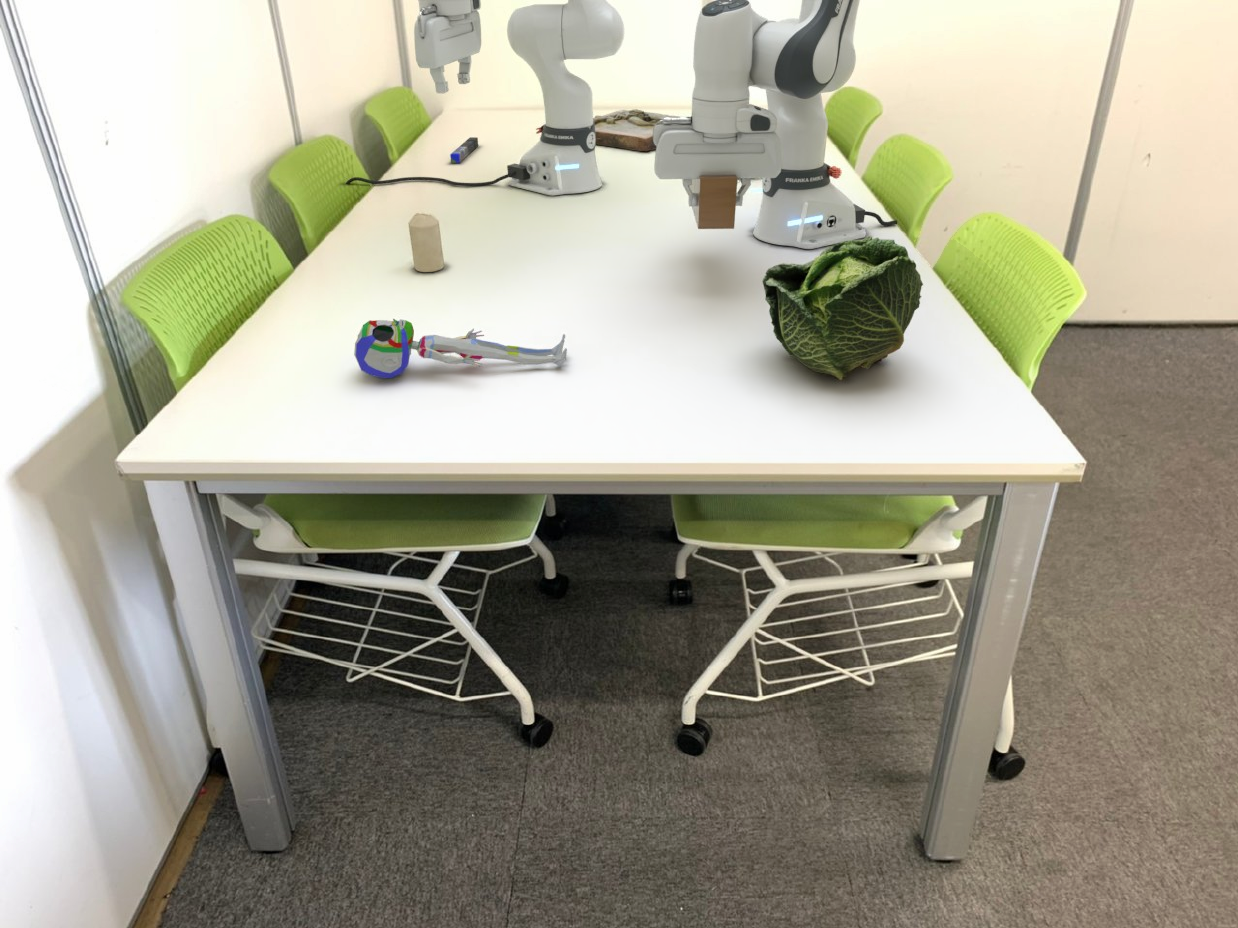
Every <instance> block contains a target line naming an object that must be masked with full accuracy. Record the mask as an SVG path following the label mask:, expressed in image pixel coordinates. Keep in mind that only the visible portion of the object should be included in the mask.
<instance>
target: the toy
mask: <svg viewBox="0 0 1238 928" xmlns="http://www.w3.org/2000/svg"><path fill="white" fill-rule="evenodd" d="M474 331H475V328H472V329H471V330H469V331H468V332H467V333H466V334H465V335H463V336H458V337H449V336H448V337H447V336H442V335H439V334H428V335H423V336H421V338H420V339H419V341H417V340H414V336H415V329H414V326H413V324H412V322H410V321H408V320H407V319H399V320H397V319H395V318H392V320H387V319H379V320H368V321H367V322H365V323H364V324H362V326H361V329H360V331H359V333H358V334H357V338H356V340H355V342H354V354H353V355H354V357H355V359H356V362H357V364H358V366H359V369H360V370H361V372H364V373H366V374H367V375H370V376H373V377H377V378H382V379H383V378H384V379H392V378H394V377H396V376H398V375H400V374H401V375H402V374H403V372H404V371H405V370H406V368H407V367H408V366H409V364H410V357H411V355H412V350H415V351H417V353H418V356H419V357H421V358H422V359H430V360H434V361H438V362H442V363H444V364H449V365H458V364H459V365H461V364H465V365H471V366H477V367H479V368H480V367H481V366H482V365H483V363H482V362H478V361H480V360H482V359H487V360H488V359H489V360H503V361H509V362H514V363H517V364H520V365H528V366H529V365H542V364H550V363H553V364H555V365H557V366H559V367H562V366H563V364H564V362H565V361H566V360H567V357H568V355H567V353H568V348H566V347H565V348H564V345H565V340H566V334H565V333H563V334H562V338H561V340H560V341H559V343H558V344H556V345H555V346H554V347H552V348H533V347H532V348H531V347H523V346H518V345H517V346H516V345H504V344H501V343H498V342H494V341H488V340H482V339H478V338H479V337H480V338H481V337H485V334H480V333H482V332H483V331H482V330H479V331H476V332H474ZM563 349H564V350H563ZM453 353H455V354H457V355H459V357H458V356H455V355H448V354H453ZM445 354H447V355H445Z"/></svg>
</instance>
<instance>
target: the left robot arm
mask: <svg viewBox="0 0 1238 928" xmlns="http://www.w3.org/2000/svg"><path fill="white" fill-rule="evenodd" d="M417 1H418V8H419V9H418V10H419V12H418V15H417V17H416V20H415V22H414V25H413V26H414V28H413V36H414V37H413V40H414V54H415V61H416V64H417V66H418V68H420V69H429V73H430V76H431V79H432V80H433V83H434V87H435V92H436V93H437V94H446V93H448V92H449V81H448V80H447V81H446V78H445V74H444V73H445V66H447V65H449V64H452V63H455V62H457V63H459V64H458V73H456V75H457V82H458V84H459V85H467V84H469V83H470V82H471V76H470V75H471V74H470V72H471V67H472V62H473V61H472V56H474V55H477V54H479V53H480V51H481V48H482V24H481V16H480V13H479V10H480V9H481V8H482V3H481V0H417ZM624 24H625V23H624V22H623V18H622V16H621V14H620V13H619V12H618V10H617V9H616V8H615V7H614V6H612V5H611V3H609V2H608V1H607V0H567V3H554V4H553V3H552V4H549V3H547V4H545V3H543V4H542V3H541V4H539V3H538V4H532V5H526V6H522V7H519V8H518V7H517V8H515V9H514V10H513V12H512V13H511V15H510V16H509V19H508V22H507V28H506V35H507V40H508V43H509V46H510V47H511V49H512V51H513V52H514V53H515V54H516V55H517V57H519V58H520V59H522V60H523V61H524V62H525V63H526V64H527V65H528V66H529V67H530V69H531V70H532V72H534V75H535V77H536V78H537V80H538V83H539V85H540V89H541V93H542V99H543V107H544V118H545V119H544V120H545V121H544V122H545V123H544V124H543V125H541V126H540V127H537V128H535V130H536V132H535V133H536V134H540V138H539V141H538V142H536V143H535V144H534V145H533V146H532V147H530V149H529V150H527V151H526V152H525V153H524V154H523V155H522V156H521V157H520V158H519V159H520V160H519V163H511V164H508V165H507V166H506V169H507V173H506V174H505V175H502V176H499V177H497V178H496V179H494V180H490V181H484V182H483V181H482V182H459V181H458V182H457V181H453V180H449V179H447V178H442V177H433V176H407V177H398V178H391V179H385V180H371V179H367V178H364V177H359V176H355V177H351V178H349V179H348V180H347V181H346V182H345V185H350V184H351V183H353V182H355V181H357V182H363V183H367V184H372V185H386V184H393V183H399V182H407V181H429V182H430V181H431V182H441V183H445V184H448V185H453V186H457V187H459V186H460V187H486V186H491V185H496V184H497V183H499V182H500V181H502V180H506V179H508V178H510V180H509V186H511V187H514V188H517V189H518V188H519V189H523V190H527V191H531V192H535V193H539V194H543V195H545V196H559V195H568V194H569V195H570V194H582V193H588V192H592V191H595V190H598V189H600V188H601V187H602V186H603V183H602V180H601V178H600V177H601V176H600V173H599V168H598V163H597V156H596V145H597V144H596V133H595V124H594V123H593V118H594V102H593V101H594V100H593V99H594V98H593V90H592V88H591V86H590V85H589V83H588V82H587V81H586V80H584V79H583V78H581V77H580V76H578V75H575V74H573V73H572V72H571V71H570V70H569V69H568V68H567V66H566V63H565V61H566V60H599V59H603V58H607V57H612V56H615V55H616V54H617V53H618V52H619V50H620V49H621V47H622V45H623V42H624V39H625V25H624Z"/></svg>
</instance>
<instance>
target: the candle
mask: <svg viewBox="0 0 1238 928" xmlns="http://www.w3.org/2000/svg"><path fill="white" fill-rule="evenodd" d="M407 225H408V232H409V238H410V246H411V253H412V260H413V266H414V269H415V270H416V271H417V272H421V273H432V272H437V271H440V270H442V269H443V268H444V267H445V261H444V260H445V259H444V253H443V252H444V251H443V245H442V236H441V227H440V221H439V219H438V218H436V217H435V216H433V215H432V214H428V213H419V212H416V213H415V214H414V215H413V216H412V218H411V219H410V220H409V222H408V223H407Z"/></svg>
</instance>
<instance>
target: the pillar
mask: <svg viewBox="0 0 1238 928" xmlns="http://www.w3.org/2000/svg"><path fill="white" fill-rule="evenodd" d="M478 146H479V138H478V137H468V138H467V139H466V140H464V141H463V143H462V144H460V145H459V146H458V147H457V148H456V149H454V151H452V152H451V153H450V154H449V155H450V164H460V163H461V162H462V161H463V160H465V159H466V158H467V157H468V156H469V155H470V154H471V153H472V152H473V151H474V150H476V148H478Z"/></svg>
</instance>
